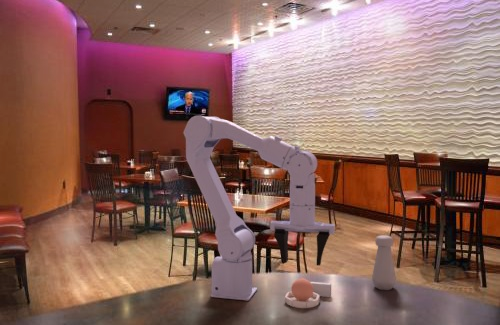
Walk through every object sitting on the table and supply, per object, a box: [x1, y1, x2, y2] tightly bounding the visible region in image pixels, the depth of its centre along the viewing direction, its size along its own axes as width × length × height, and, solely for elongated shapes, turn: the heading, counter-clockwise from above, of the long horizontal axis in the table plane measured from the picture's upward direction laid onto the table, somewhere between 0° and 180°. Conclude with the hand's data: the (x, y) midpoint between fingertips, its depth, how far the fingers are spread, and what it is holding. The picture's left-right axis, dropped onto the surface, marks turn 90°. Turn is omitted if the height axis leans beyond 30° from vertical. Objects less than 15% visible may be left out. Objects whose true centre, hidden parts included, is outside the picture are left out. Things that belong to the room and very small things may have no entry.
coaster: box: [284, 291, 321, 309], centre depth 107 cm, size 8×8×1 cm
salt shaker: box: [371, 234, 397, 291], centre depth 116 cm, size 6×6×13 cm
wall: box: [310, 281, 332, 298], centre depth 111 cm, size 8×1×3 cm, turn 74°
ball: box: [290, 278, 313, 301], centre depth 107 cm, size 5×5×5 cm
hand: (302, 262), depth 106 cm, fingers open, 7 cm apart
